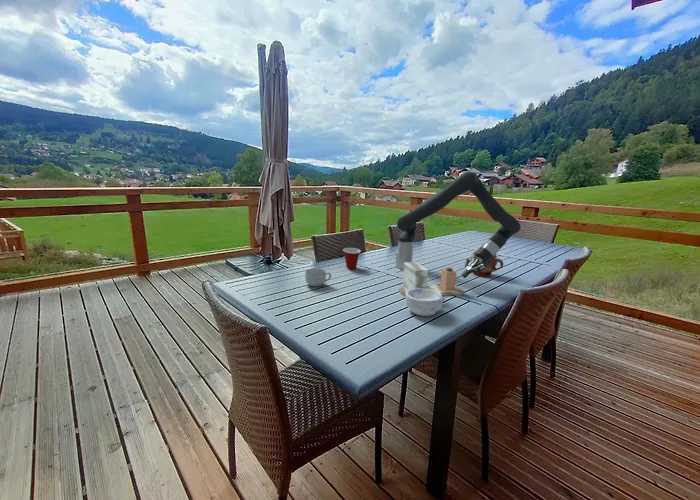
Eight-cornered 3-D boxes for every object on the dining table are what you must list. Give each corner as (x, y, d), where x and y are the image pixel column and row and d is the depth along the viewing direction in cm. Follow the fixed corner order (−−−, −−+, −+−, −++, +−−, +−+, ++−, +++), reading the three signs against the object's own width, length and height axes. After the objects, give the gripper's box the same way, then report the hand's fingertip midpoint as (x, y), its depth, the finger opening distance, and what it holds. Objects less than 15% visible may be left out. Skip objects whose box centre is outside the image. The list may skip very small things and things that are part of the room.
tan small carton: (449, 285, 152) (451, 266, 149) (454, 289, 147) (456, 269, 144) (440, 286, 150) (442, 267, 148) (445, 289, 146) (447, 270, 143)
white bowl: (414, 301, 136) (416, 284, 134) (447, 310, 127) (448, 293, 125) (397, 312, 125) (398, 294, 123) (431, 323, 115) (433, 304, 114)
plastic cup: (353, 272, 177) (353, 252, 175) (339, 268, 184) (339, 249, 181) (363, 268, 186) (364, 249, 183) (350, 264, 192) (350, 246, 189)
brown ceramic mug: (506, 277, 171) (509, 254, 167) (497, 282, 163) (500, 257, 160) (473, 269, 185) (475, 247, 182) (463, 273, 178) (465, 250, 174)
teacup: (301, 286, 154) (300, 271, 152) (313, 280, 163) (312, 266, 161) (323, 291, 147) (323, 275, 146) (335, 284, 157) (335, 269, 155)
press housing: (450, 285, 157) (453, 259, 154) (466, 295, 144) (469, 267, 140) (397, 289, 151) (398, 262, 147) (407, 299, 137) (409, 271, 134)
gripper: (475, 243, 154) (451, 267, 154) (492, 249, 141) (466, 275, 141) (483, 253, 156) (459, 276, 156) (500, 259, 143) (475, 285, 144)
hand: (463, 276), depth 149 cm, fingers closed
